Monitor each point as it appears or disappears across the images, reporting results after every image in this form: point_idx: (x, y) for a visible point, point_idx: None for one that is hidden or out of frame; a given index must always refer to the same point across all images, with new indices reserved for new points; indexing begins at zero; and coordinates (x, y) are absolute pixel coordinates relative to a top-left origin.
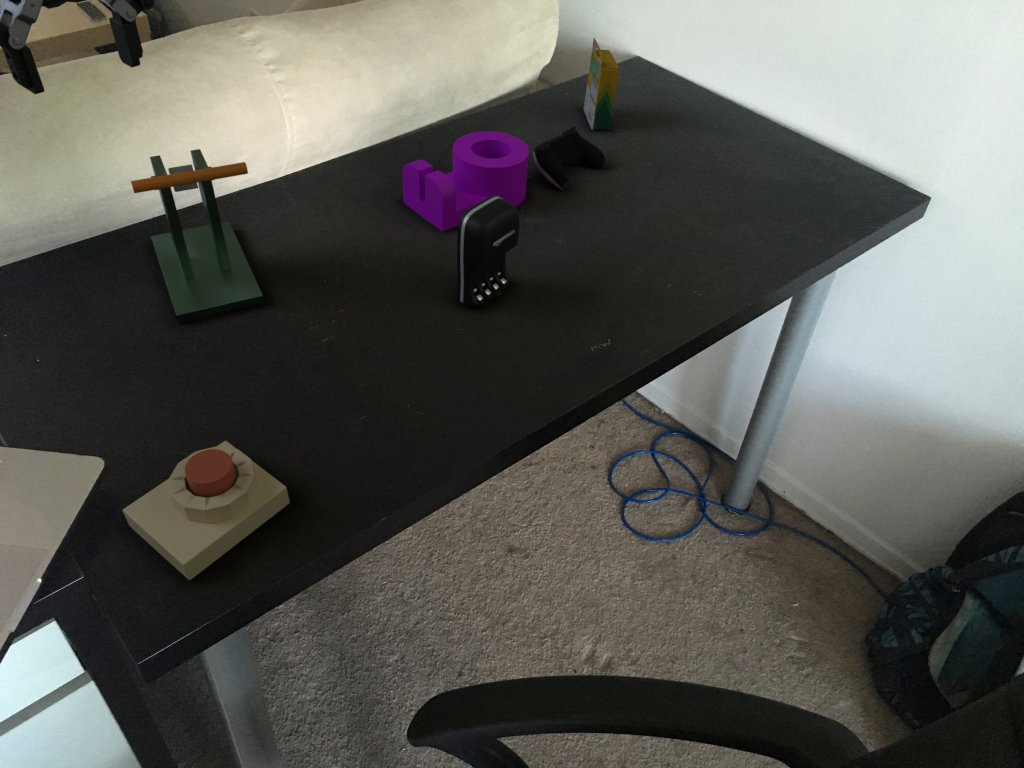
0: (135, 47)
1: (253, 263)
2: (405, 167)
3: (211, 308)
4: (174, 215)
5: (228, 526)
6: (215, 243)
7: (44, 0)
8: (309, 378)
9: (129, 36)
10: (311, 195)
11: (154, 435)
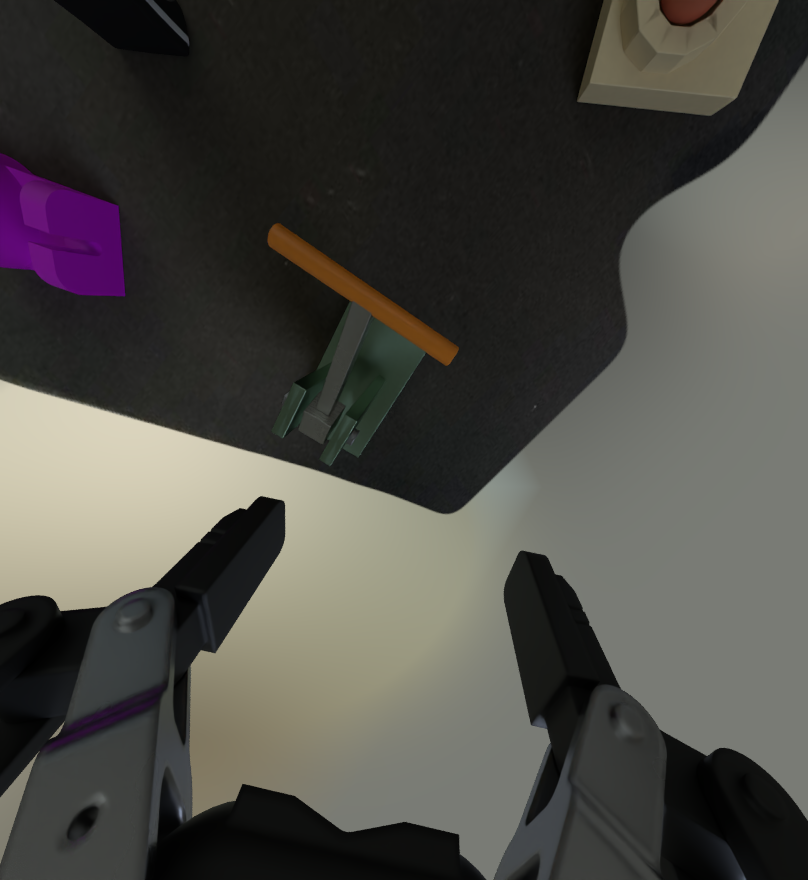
0: (234, 525)
1: (318, 355)
2: (68, 287)
3: None
4: (364, 398)
5: None
6: None
7: None
8: (423, 129)
9: (220, 555)
10: (201, 393)
11: (578, 219)
